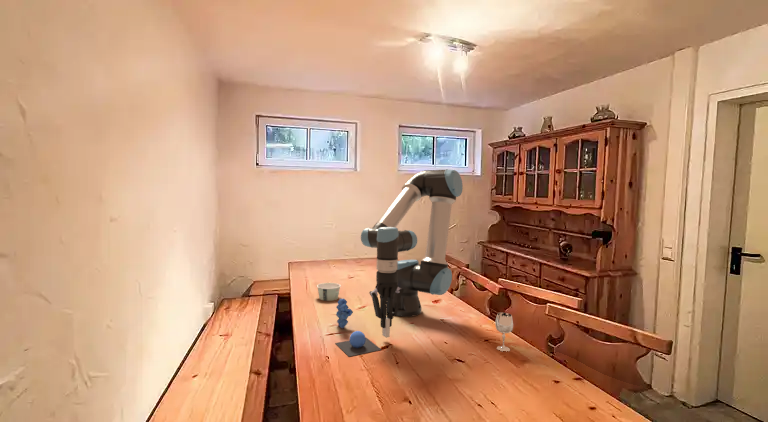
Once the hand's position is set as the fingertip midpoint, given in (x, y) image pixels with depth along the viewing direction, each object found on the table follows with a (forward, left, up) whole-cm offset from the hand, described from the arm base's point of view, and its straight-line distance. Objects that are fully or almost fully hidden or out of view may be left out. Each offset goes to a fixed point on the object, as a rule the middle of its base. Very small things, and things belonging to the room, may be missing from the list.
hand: (385, 335), depth 134 cm
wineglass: (-33, +24, -2) cm, 41 cm away
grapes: (+8, -19, -2) cm, 21 cm away
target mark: (+11, 0, -2) cm, 11 cm away
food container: (-1, -61, -2) cm, 61 cm away
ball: (+11, 0, +1) cm, 11 cm away
